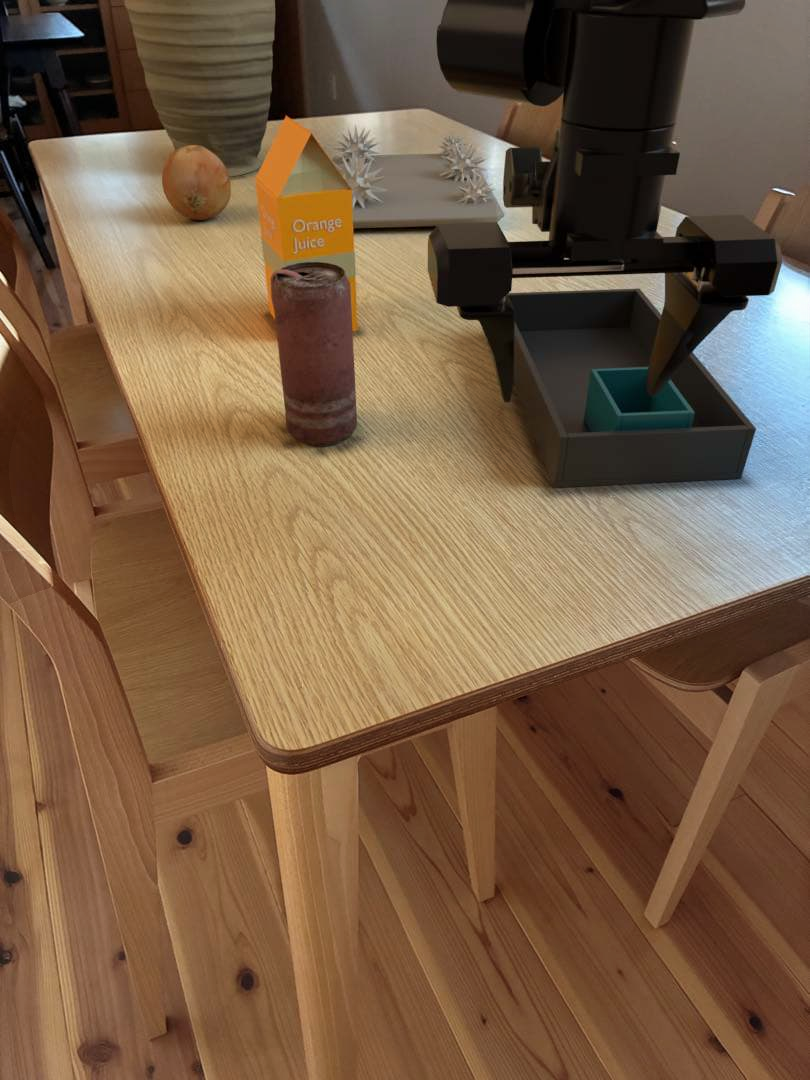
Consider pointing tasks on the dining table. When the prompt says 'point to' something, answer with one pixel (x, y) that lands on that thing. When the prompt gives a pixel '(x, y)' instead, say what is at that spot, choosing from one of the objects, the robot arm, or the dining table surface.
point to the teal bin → (632, 403)
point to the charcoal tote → (615, 342)
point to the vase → (209, 72)
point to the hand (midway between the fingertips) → (578, 396)
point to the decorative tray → (416, 185)
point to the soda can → (315, 351)
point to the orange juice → (304, 208)
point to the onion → (196, 182)
